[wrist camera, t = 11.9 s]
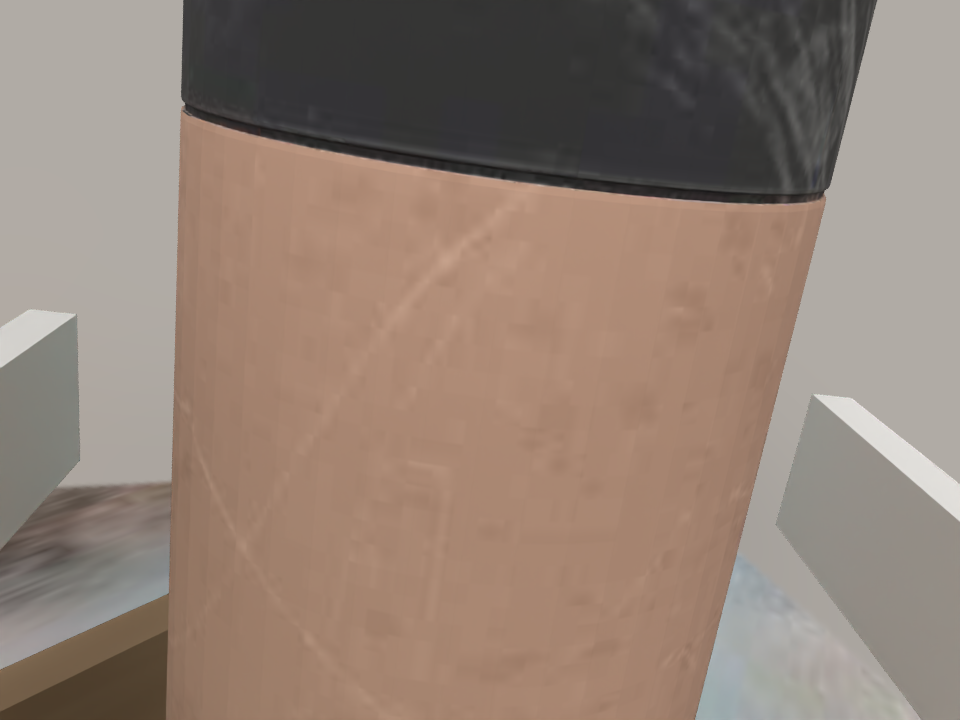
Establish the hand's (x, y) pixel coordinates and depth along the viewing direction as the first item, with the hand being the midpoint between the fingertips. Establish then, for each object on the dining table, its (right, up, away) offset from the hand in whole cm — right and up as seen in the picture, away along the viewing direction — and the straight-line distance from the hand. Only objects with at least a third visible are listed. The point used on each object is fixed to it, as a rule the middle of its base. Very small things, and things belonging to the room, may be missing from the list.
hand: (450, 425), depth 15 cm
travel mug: (-1, -13, +1) cm, 13 cm away
